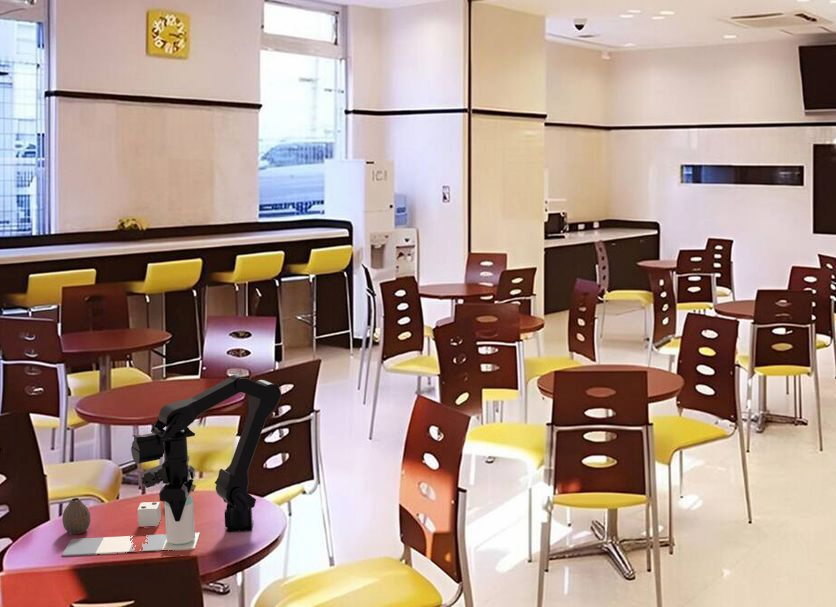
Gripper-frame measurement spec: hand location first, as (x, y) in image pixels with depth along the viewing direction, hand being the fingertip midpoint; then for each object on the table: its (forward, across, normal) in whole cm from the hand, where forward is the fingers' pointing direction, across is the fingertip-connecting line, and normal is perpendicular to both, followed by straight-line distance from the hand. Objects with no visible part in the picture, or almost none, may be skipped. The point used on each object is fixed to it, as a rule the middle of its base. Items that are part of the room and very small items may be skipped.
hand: (179, 515), depth 258 cm
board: (+7, 0, -12) cm, 14 cm away
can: (+7, 0, 0) cm, 7 cm away
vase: (+7, -11, -28) cm, 31 cm away
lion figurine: (+7, -27, -4) cm, 28 cm away
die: (+7, -14, -10) cm, 19 cm away
